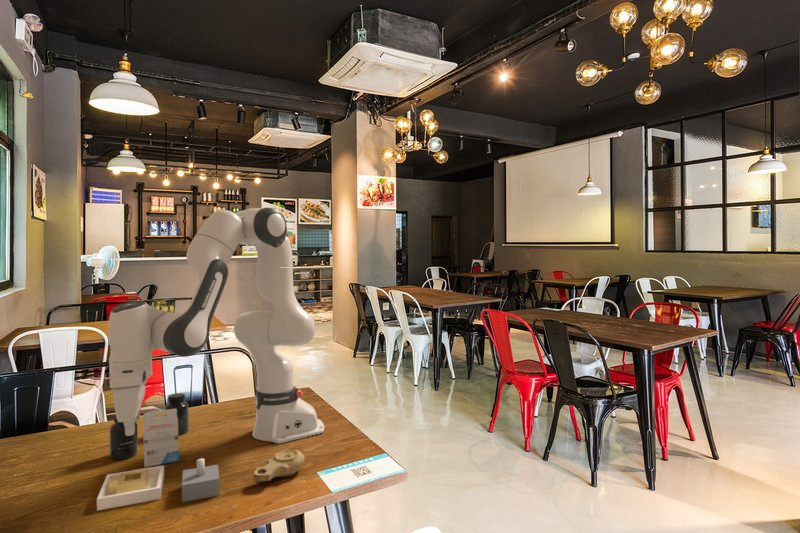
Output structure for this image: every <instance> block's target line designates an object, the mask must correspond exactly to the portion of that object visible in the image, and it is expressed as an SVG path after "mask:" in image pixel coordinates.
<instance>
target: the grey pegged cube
mask: <svg viewBox="0 0 800 533" xmlns="http://www.w3.org/2000/svg"><path fill="white" fill-rule="evenodd" d="M205 460H206V459H205V458H203V457H202V458H197V459H196V467H195V468H188V469H183V470H182V478H181V479H182V480H181V503H185V502H192V501H197V500H202V499H207V498H211V497H218V496H220V474H219V465H218V464H214V465H213V464H212V465H208V466H207V465H206V463H205ZM205 465H206V466H205Z"/></svg>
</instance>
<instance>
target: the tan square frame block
mask: <svg viewBox="0 0 800 533" xmlns="http://www.w3.org/2000/svg"><path fill="white" fill-rule="evenodd" d="M148 482H149V471H148V469H147V470H141V471H135V472H129V473H122V474H120V477H119V478H117V479H111V480H109V495H110V494H115V493H117V494H120V493H126V492H131V491H137V490H143V489H147V486H148Z"/></svg>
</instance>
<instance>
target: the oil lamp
mask: <svg viewBox="0 0 800 533" xmlns="http://www.w3.org/2000/svg"><path fill="white" fill-rule="evenodd" d="M304 463H305V455H304V454H303V453H302V451H300V450H299V449H283V450H280V451H278V452H277V453H275V455H273V456H272V457H271V458H268V459H267V460H266V465H264V466H259V467H258V466H257V467H255V468H254V469H255V470H254V471H253V474H252V475H253V478H254V479H255V480H256V481H258V482H266V481H271V480H272V479H275V478H278V477H285V478H286V477H290V476H294V475H295V474H296V473H297V472H298V470H300V469H301V468H302V466H303V465H304Z"/></svg>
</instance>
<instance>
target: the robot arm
mask: <svg viewBox="0 0 800 533" xmlns="http://www.w3.org/2000/svg"><path fill="white" fill-rule="evenodd" d="M287 230H288V227H287V222H286V218H285V216H284V214H283V213H282V212H281V211H280V210H279V209H276V208H272V207H252V208H248V209H244V210H237V211H231V210H227V209H218V210H217V209H216V210H215V211H214V212H212V213H211V215H209V216H208V217H207V219H206V220H205V221H204V222H203V224H202V225H201V226H200V228H199V229H198V231H197V232H196V233H195V235H194V237H193V239H192V240H191V242H190V244H189V246H188V249H187V251H186V254H185V255H186V256H185V257H186V261H187V264H188V266H189V267H190V270H192V271H194V273H195V274H197V275H198V284H197V286H196V289H195V291H194V292H193V296H192V298H191V300H190V302H189V305H188V307H187V308H186V309H185V310H184V311H183V312H182V313H177V312H171V311H166V310H163V309H159V308H157V307H154V306H152V305H150V304H148V303H147V302H146V301H143V300H142V301H141V300H136V301H129V302H125V303H124V302H123V303H121V304H118V305H116V306H114V307H113V308H112V310H111V311H110V315H109V317H108V318H109V319H108V330H107V332H108V335H107V336H108V339H107V340H108V344H109V347H110V355H109V357H108V363H109V364H108V366H109V367H108V368H109V388H110V389H113V390H112V391H113V392H112V394H113V395H112V397H113V404H114V411H115V412H114V414H116V418H117V421H118V422H123V424H124V427H125V435H126V436H130V435H133V434H134V432H135V425H134V421H136V422H137V421H139V420H140V418H141V406H142V403H143V400H144V398H145V395H146V385H145V384H147V383H148V382H147V379H149V378H150V377H151V376H152V375H153V357H152V356H153V351H155V350H160V351H164V352H168V353H171V354H175V355H176V356H179V357H183V358H187V357H191V356H194V355H196V354H197V353H199V352H200V351H201V350H202V349H203V348H204V347H205V345H206V344H207V342H208V339H209V336H210V331H211V325H212V324H211V323H212V319H213V317H214V314H215V312H216V309H217V307H218V304H219V302H220V299H221V296H222V293H223V291H224V289H225V286H226V285H227V284H226V283H227V281H228V277H229V268H228V267H229V264H230V261H231V259H232V257H233V255H234V253H235V252H236V249H237V247H238V246H254V247H255V249H256V253H257V256H256V257H257V258H256V290H257V293H258V294H259V295H260V297H262V298H263V299H266V300H268V301H269V302H270V303H271V304H272V306H273V310H252V311H248V312H243V313H241V314H240V315H238V317H237V318H236V320H235V322H234V326H233V333H234V335H235V338H236V339H237V340H238V342H239V343H241V344H242V345H243V346H244V347H245V348H246V349H247V350H248V352H249V353H250V355H251V357H252V359H253V361H254V363H255V370H256V372H255V373H256V383H257V384H256V385H257V386H256V388H257V389H256V390H255V399H254V400H255V408H256V412H255V413H256V415H255V420H254V427H253V430H252V434H251V435H252V438H254V439H256V440H258V441H264V442H272V443H275V444H283V443H288V442H291V441H297V440H300V439H305V438H307V437H308V436H309V437H312V435H313V436H316V434H317V435H321V434H323V433H324V432H325V430H324V429H325V428H326V427H325V423H324V422H323V421H322V420H321V419H319V418H318V415H317V412H316V409H315V408H314V407H313V406H312V405H311V404H310V403H308V402H306V401H305V400H303V399H302V397H303V396H304V393H303V391H302V390H300V389H299V388H298V387H297V386H294V366H293V364H292V362H291V360H290V359H289V358H287V357H285V356H284V355H282V354H281V353H280V352H279V350H278V349H277V347H296V346H302V345H307V344H309V343H311V341H312V339H313V338H314V336H315V333H316V323H315V321H314V319H313V317H312V316H311V314H310V313H308V312H307V311H305V310H304V308H303V307H302V306H301V304H300V303H299V301H298V299H297V297H296V294H295V287H294V275H293V274H294V273H293V272H294V267H293V266H294V265H293V263H294V262H293V253H292V252H293V251H292V244H291V241H290V238H289V237H288V236H287V232H288V231H287ZM323 431H324V432H323ZM322 432H323V433H322ZM320 433H321V434H320Z"/></svg>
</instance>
